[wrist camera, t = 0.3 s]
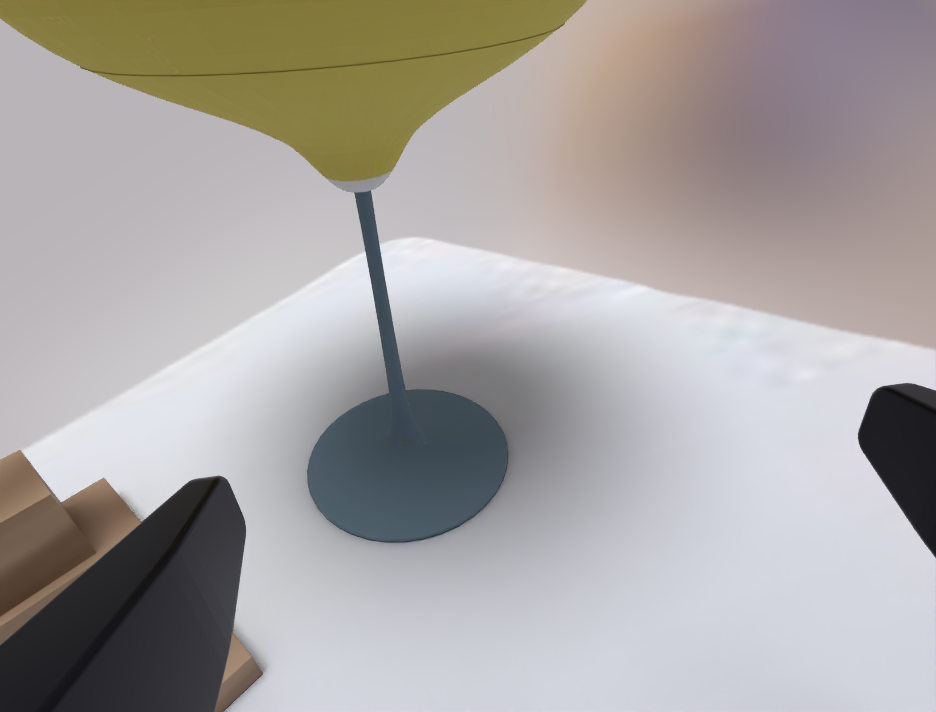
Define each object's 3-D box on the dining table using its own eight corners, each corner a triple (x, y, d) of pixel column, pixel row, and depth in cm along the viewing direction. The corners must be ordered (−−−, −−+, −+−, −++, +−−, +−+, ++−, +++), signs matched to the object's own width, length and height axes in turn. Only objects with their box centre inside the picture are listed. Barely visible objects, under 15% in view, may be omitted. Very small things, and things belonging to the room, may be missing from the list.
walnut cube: (96, 553, 24) (50, 494, 22) (-9, 622, 22) (-74, 564, 19) (64, 507, 26) (20, 449, 24) (-34, 566, 24) (-95, 508, 22)
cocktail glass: (469, 329, 39) (438, -129, 25) (653, 497, 27) (822, -252, 12) (209, 424, 33) (-46, -128, 18) (288, 711, 20) (-390, -411, 5)
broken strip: (262, 673, 21) (251, 656, 20) (28, 894, 16) (2, 883, 15) (115, 495, 29) (103, 477, 28) (-72, 610, 24) (-93, 593, 23)
